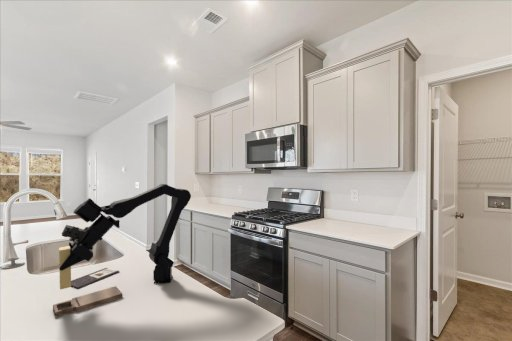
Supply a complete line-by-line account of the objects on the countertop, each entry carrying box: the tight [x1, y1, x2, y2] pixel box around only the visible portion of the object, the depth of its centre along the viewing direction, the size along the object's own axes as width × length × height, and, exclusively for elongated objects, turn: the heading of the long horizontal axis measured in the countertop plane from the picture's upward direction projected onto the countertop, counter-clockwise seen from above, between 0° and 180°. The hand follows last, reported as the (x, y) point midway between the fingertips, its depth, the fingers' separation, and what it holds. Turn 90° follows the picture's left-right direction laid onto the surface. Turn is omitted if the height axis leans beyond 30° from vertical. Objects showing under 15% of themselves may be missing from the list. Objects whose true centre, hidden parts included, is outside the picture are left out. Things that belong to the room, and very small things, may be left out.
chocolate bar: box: [70, 267, 120, 290], centre depth 113 cm, size 9×1×18 cm
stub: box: [58, 245, 72, 290], centre depth 90 cm, size 3×4×13 cm
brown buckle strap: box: [52, 285, 123, 318], centre depth 92 cm, size 19×8×2 cm, turn 133°
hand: (60, 267), depth 89 cm, fingers closed on stub, 4 cm apart
